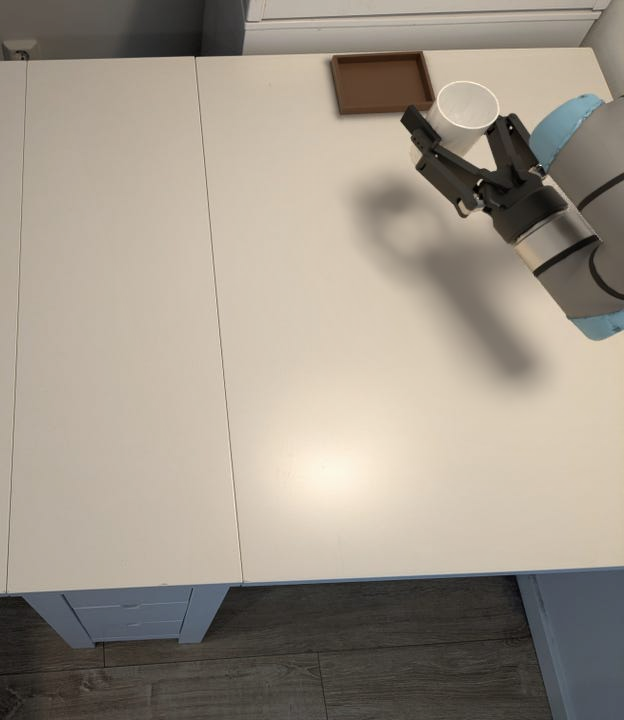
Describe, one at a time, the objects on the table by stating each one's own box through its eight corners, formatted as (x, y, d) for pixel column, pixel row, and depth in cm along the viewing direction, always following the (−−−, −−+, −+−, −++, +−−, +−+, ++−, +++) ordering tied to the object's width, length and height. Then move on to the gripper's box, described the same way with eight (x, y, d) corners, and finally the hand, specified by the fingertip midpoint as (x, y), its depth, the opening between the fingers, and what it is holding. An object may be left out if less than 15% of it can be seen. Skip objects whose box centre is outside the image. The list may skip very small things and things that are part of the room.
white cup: (466, 176, 80) (507, 126, 70) (411, 180, 80) (445, 130, 70) (452, 132, 82) (490, 78, 73) (399, 136, 82) (430, 82, 73)
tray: (329, 65, 103) (333, 54, 100) (417, 61, 102) (422, 50, 100) (339, 117, 99) (343, 108, 96) (430, 113, 98) (437, 103, 96)
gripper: (458, 275, 72) (359, 148, 79) (583, 213, 75) (476, 95, 82) (490, 244, 65) (379, 108, 72) (627, 177, 68) (507, 52, 75)
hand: (431, 101), depth 77 cm, fingers closed on white cup, 8 cm apart
